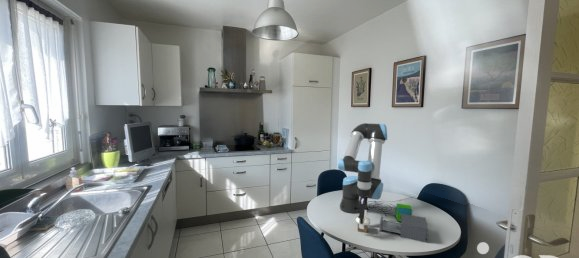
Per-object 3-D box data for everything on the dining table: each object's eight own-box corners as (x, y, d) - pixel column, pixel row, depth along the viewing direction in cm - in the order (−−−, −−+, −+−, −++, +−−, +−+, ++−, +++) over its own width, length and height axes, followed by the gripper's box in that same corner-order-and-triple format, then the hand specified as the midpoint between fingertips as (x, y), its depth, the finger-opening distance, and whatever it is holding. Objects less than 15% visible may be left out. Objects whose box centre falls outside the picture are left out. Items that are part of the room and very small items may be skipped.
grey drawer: (379, 230, 137) (379, 223, 137) (380, 222, 148) (381, 215, 147) (403, 235, 132) (403, 228, 132) (403, 226, 143) (403, 219, 142)
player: (400, 237, 132) (401, 223, 131) (400, 225, 144) (401, 213, 144) (427, 242, 126) (428, 228, 125) (424, 230, 139) (425, 217, 138)
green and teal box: (409, 215, 159) (410, 201, 158) (413, 224, 146) (413, 209, 145) (393, 213, 162) (394, 199, 161) (395, 221, 149) (396, 206, 149)
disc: (354, 223, 136) (354, 220, 136) (356, 217, 144) (357, 215, 144) (369, 226, 133) (369, 223, 133) (370, 220, 140) (370, 217, 140)
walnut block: (357, 231, 138) (357, 222, 137) (358, 227, 142) (359, 219, 142) (366, 233, 136) (366, 224, 135) (367, 229, 140) (367, 221, 140)
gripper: (368, 195, 125) (367, 235, 127) (372, 183, 145) (371, 217, 147) (354, 193, 128) (352, 231, 130) (360, 181, 148) (359, 214, 150)
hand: (362, 224), depth 139 cm, fingers open, 10 cm apart
